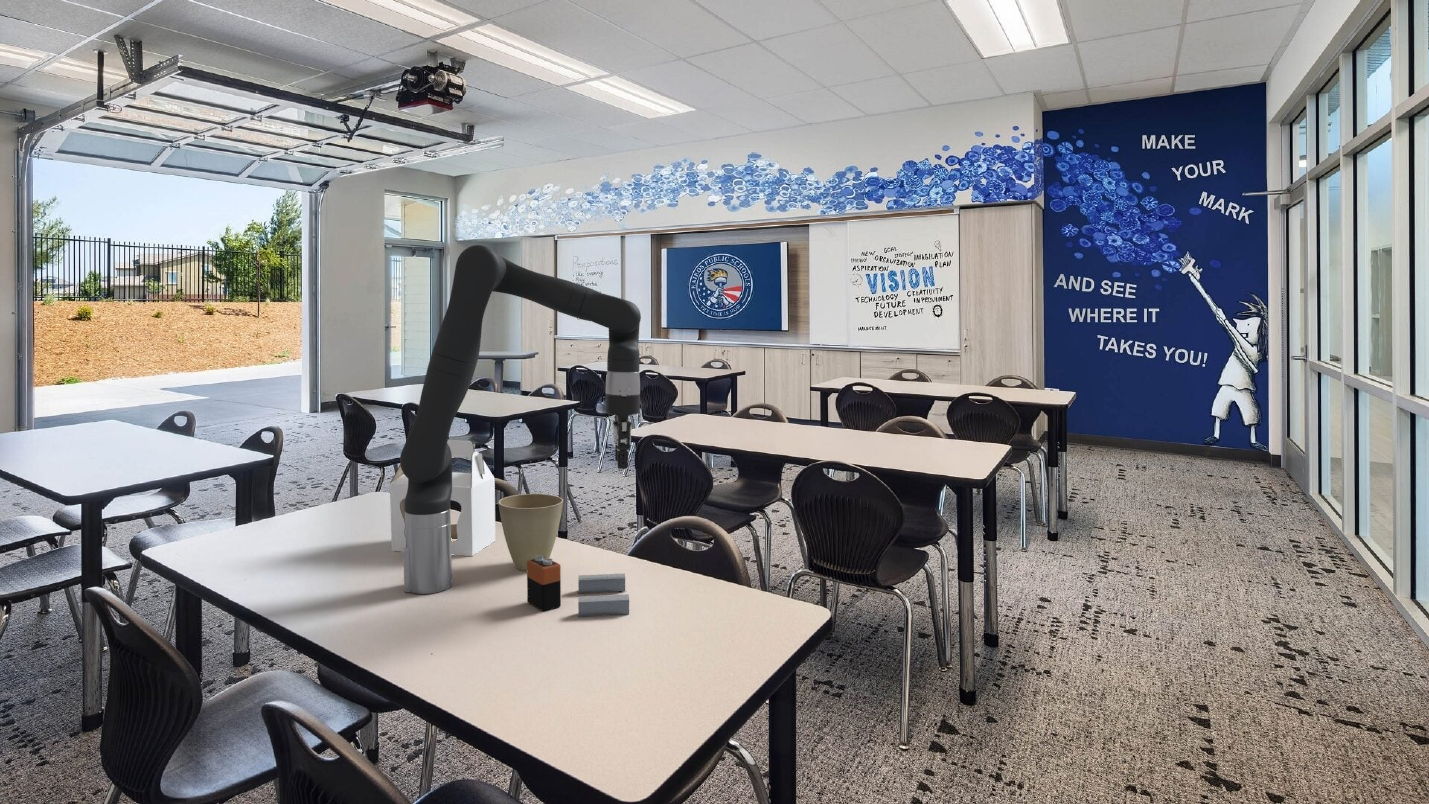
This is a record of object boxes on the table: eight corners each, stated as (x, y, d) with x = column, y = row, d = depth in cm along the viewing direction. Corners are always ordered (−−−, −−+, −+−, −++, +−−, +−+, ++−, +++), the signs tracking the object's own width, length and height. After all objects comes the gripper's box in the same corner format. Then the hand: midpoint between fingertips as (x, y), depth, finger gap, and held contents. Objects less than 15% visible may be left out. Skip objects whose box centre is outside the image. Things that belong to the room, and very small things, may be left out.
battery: (542, 612, 151) (542, 564, 150) (526, 602, 156) (525, 556, 155) (561, 607, 154) (561, 559, 153) (545, 598, 159) (544, 551, 158)
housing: (578, 616, 149) (578, 600, 149) (578, 590, 164) (578, 575, 164) (629, 614, 151) (629, 597, 151) (624, 588, 166) (624, 573, 165)
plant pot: (511, 580, 170) (510, 511, 168) (491, 562, 182) (490, 497, 181) (573, 569, 178) (573, 503, 176) (550, 553, 190) (549, 491, 189)
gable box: (496, 541, 199) (495, 437, 197) (473, 556, 186) (471, 445, 184) (418, 537, 203) (415, 434, 200) (390, 551, 190) (387, 441, 187)
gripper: (604, 388, 172) (602, 459, 174) (607, 394, 158) (605, 471, 160) (637, 389, 173) (635, 459, 175) (642, 395, 160) (641, 470, 161)
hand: (621, 464), depth 167 cm, fingers open, 8 cm apart
